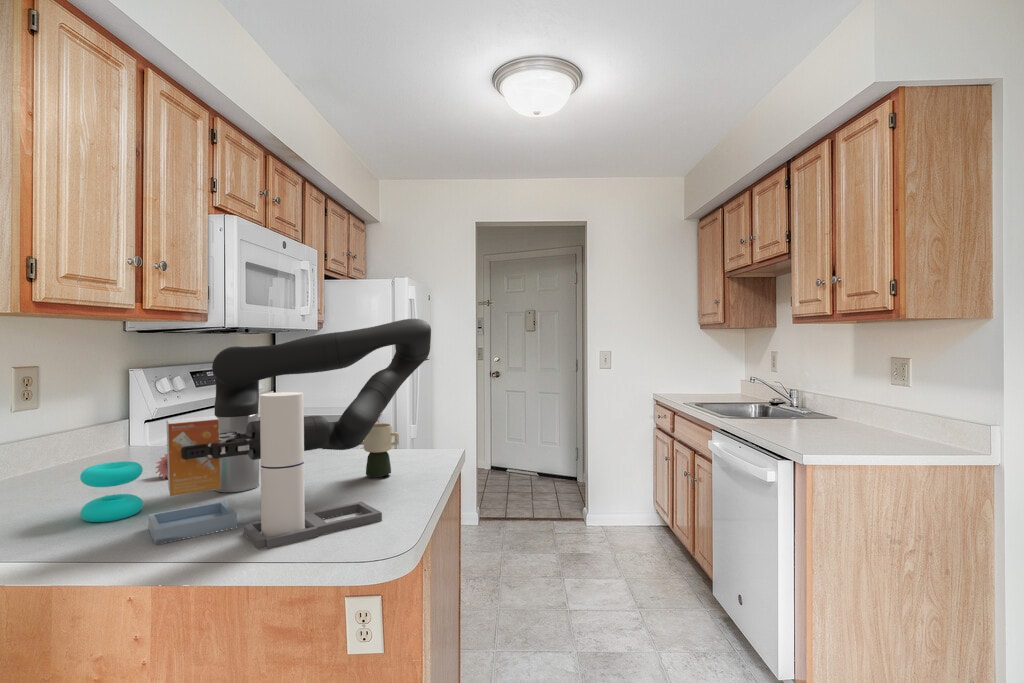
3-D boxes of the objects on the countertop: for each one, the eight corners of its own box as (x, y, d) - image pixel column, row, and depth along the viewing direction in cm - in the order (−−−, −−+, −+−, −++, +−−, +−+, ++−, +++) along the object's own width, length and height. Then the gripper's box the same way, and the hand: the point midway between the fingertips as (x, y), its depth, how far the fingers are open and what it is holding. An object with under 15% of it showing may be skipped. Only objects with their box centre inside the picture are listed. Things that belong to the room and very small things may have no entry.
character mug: (404, 473, 140) (403, 423, 140) (394, 480, 133) (393, 427, 133) (363, 472, 142) (363, 422, 141) (352, 479, 134) (351, 427, 134)
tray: (148, 528, 100) (148, 514, 100) (224, 514, 108) (224, 501, 108) (155, 545, 92) (155, 529, 92) (236, 528, 100) (236, 514, 100)
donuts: (67, 472, 102) (98, 461, 112) (68, 525, 102) (99, 509, 112) (126, 470, 104) (151, 459, 114) (127, 522, 104) (152, 506, 114)
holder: (243, 532, 98) (242, 524, 98) (360, 507, 111) (360, 500, 111) (259, 550, 89) (259, 541, 89) (383, 521, 103) (383, 513, 103)
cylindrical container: (262, 544, 92) (261, 396, 92) (260, 531, 98) (259, 393, 98) (307, 536, 95) (305, 394, 95) (302, 524, 102) (301, 391, 101)
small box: (169, 497, 95) (167, 423, 95) (168, 489, 100) (165, 419, 100) (221, 489, 100) (219, 418, 100) (217, 482, 105) (215, 414, 105)
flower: (175, 450, 143) (167, 441, 139) (201, 462, 143) (194, 454, 138) (153, 476, 139) (144, 468, 134) (179, 489, 138) (171, 482, 134)
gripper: (264, 415, 115) (172, 425, 104) (285, 423, 103) (184, 434, 93) (265, 451, 115) (173, 464, 104) (286, 462, 104) (185, 478, 93)
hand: (179, 450), depth 99 cm, fingers closed on small box, 6 cm apart
